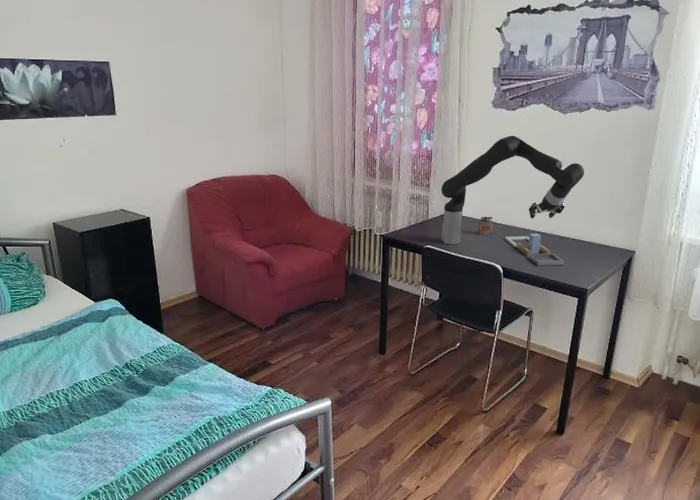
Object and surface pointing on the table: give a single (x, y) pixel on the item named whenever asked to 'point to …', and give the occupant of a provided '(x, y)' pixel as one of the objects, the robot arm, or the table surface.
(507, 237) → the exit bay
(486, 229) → the lighter
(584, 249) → the table surface
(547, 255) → the tray
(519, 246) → the rail channel
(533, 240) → the block
